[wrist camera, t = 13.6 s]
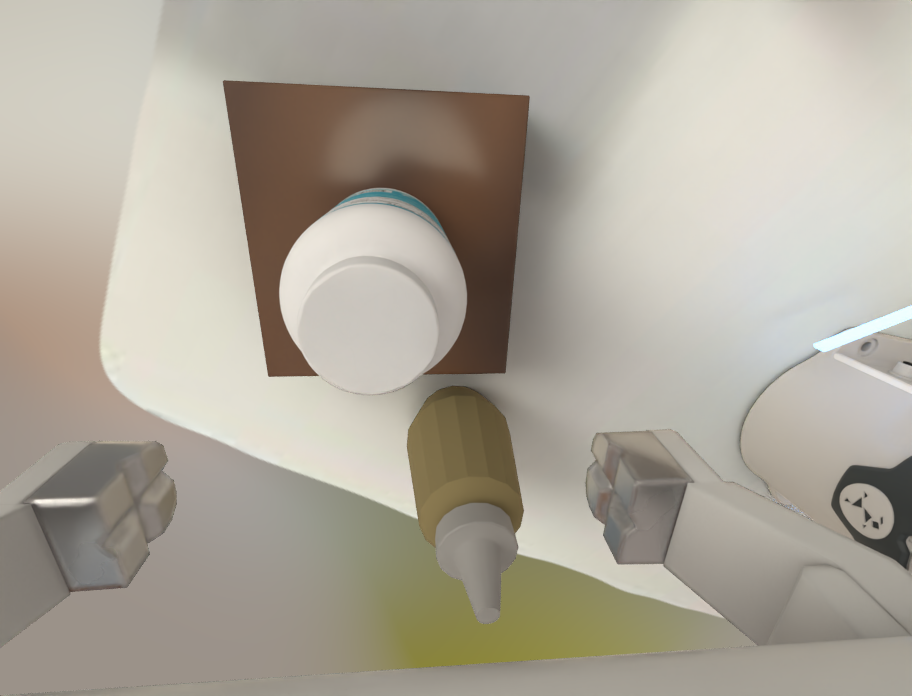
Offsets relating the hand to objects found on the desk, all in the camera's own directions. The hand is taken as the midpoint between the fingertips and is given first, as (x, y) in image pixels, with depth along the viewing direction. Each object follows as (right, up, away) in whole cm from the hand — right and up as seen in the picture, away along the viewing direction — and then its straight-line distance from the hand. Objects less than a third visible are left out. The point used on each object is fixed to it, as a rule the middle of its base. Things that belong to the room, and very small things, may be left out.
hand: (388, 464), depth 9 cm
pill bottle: (-3, +8, +18) cm, 20 cm away
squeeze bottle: (+1, -3, +30) cm, 30 cm away
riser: (-3, +10, +23) cm, 25 cm away
